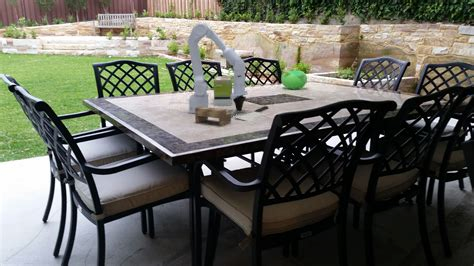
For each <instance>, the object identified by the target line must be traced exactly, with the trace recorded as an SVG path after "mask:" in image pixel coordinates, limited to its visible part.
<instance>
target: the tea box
mask: <svg viewBox="0 0 474 266" xmlns="http://www.w3.org/2000/svg"><path fill="white" fill-rule="evenodd" d="M232 83H233V80H232V76H229V75H228V76H225V75H224V76H223V75H222V76H214V78H213V100H214V101H213V105H214V106H215V107H220V106H221V107H222V106H223V107H224V106H225V107H227V106H228V107H229V106H231V107H232V106H233V105H232V104H233V103H232V102H233V99H230V95H231V94H233V84H232Z"/></svg>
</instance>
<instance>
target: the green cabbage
mask: <svg viewBox="0 0 474 266" xmlns="http://www.w3.org/2000/svg"><path fill="white" fill-rule="evenodd" d="M282 72H283V73H282V75H281V76H280V77H281V78H280V79H281V84H282V85H283V86H284V87H285V88H287V89H290V90H298V89H302V88H303V87H304V86H306V84H307V83H308V76H307V74H306V73H305V72H304V71H302V70H300V69H298V68H297V67H294V68H292V69H288V70H282Z"/></svg>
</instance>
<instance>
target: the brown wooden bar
mask: <svg viewBox="0 0 474 266" xmlns="http://www.w3.org/2000/svg"><path fill="white" fill-rule="evenodd" d="M238 112H239V111H238V110H236V109H229V110H226V113H231V119H232V118H234V117H236V116H237V115H238ZM236 114H237V115H236ZM233 116H234V117H233Z"/></svg>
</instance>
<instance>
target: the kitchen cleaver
mask: <svg viewBox="0 0 474 266" xmlns="http://www.w3.org/2000/svg"><path fill="white" fill-rule="evenodd" d="M266 109H267V110H270V109H269V106H266V105H264V106H262V107H260V108H257V109H256V110H254V111H252V112H249V113H246V114H242V115H236V116H234V118H235V119H238V120H240V121H241V120H242V121H245V122H250V121H249V120H251V119H253V118H255V117H256V116H259V115H261V114H262V112H265V111H266Z"/></svg>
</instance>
